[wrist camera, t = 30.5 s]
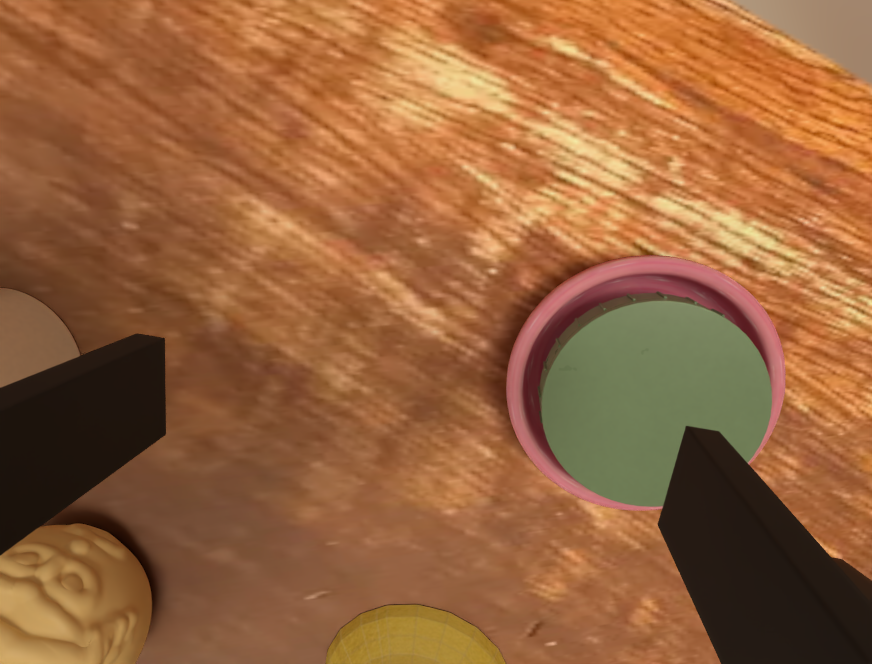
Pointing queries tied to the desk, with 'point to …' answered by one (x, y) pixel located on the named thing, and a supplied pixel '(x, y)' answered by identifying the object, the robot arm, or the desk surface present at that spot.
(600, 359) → the lid
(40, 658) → the sculpture
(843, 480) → the desk surface
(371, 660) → the handbell
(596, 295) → the saucer
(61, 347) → the jar
